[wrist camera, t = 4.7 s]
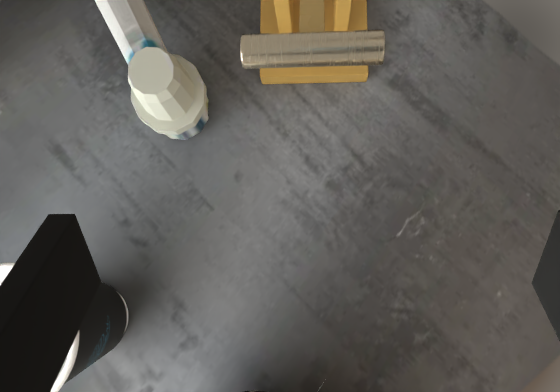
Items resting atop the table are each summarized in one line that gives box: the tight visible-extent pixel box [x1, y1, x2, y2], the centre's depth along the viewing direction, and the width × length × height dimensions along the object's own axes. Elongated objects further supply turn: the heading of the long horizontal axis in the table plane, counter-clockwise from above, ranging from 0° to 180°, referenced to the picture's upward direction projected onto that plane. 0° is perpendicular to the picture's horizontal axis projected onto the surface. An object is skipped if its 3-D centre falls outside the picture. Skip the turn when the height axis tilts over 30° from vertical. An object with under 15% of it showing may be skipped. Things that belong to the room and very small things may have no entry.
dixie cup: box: [0, 263, 128, 392], centre depth 31 cm, size 8×8×11 cm
